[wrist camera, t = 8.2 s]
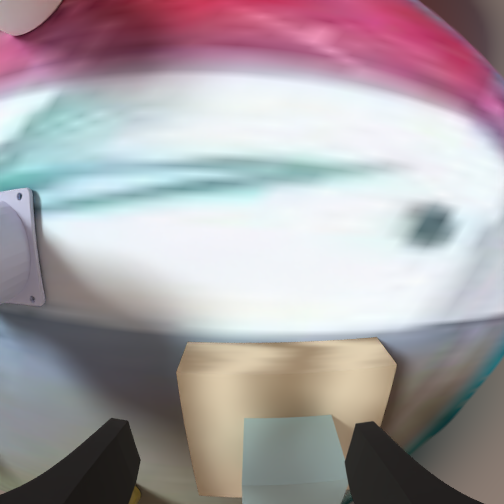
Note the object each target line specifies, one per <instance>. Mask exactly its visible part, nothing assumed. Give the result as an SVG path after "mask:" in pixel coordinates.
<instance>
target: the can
mask: <svg viewBox="0 0 504 504" xmlns="http://www.w3.org/2000/svg"><path fill="white" fill-rule="evenodd" d="M62 1H63V0H0V30H1V31H3V32H5V33H7V34H10V35H13V36H18V35H22V34H25V33H27V32H30V31H32V30H34V29H35V28H37V27H38V26H40V25H41V24H42V23H44V22H45V21H46V20H47V19H48V18H49V17H50V16H51V15H52V14H53V13H54V12H55V11H56V9H57V8H58V7H59V5H60V4H61V2H62Z"/></svg>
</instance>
